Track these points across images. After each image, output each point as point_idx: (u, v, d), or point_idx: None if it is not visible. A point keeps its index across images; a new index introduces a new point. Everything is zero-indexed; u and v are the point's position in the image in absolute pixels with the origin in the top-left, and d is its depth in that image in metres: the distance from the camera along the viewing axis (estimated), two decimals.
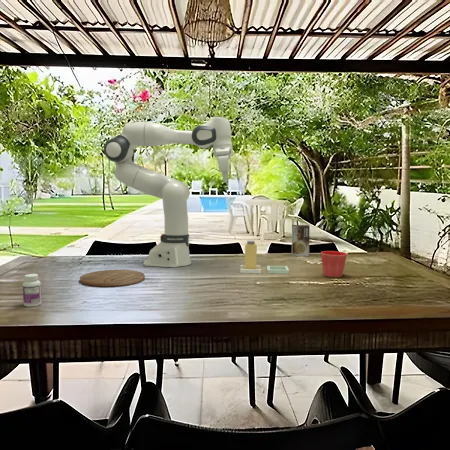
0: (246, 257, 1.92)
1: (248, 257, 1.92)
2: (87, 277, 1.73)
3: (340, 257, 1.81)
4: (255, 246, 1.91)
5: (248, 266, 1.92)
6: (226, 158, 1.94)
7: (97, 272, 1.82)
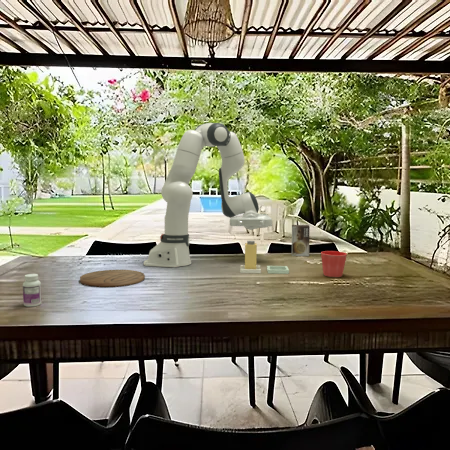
0: (246, 257, 1.92)
1: (248, 257, 1.92)
2: (87, 277, 1.73)
3: (340, 258, 1.81)
4: (255, 246, 1.91)
5: (248, 266, 1.92)
6: None
7: (97, 272, 1.82)
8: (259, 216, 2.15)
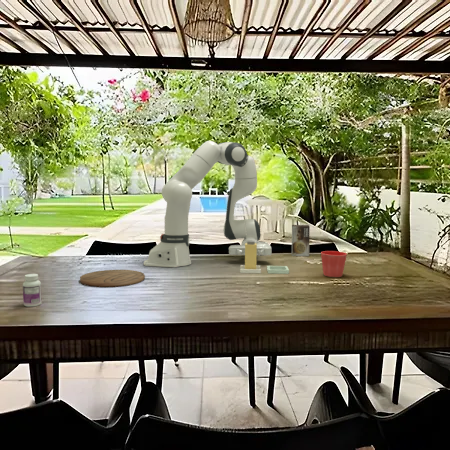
0: (246, 257, 1.92)
1: (248, 257, 1.92)
2: (87, 277, 1.73)
3: (340, 257, 1.81)
4: (255, 246, 1.91)
5: (248, 266, 1.92)
6: None
7: (97, 272, 1.82)
8: (258, 244, 2.14)
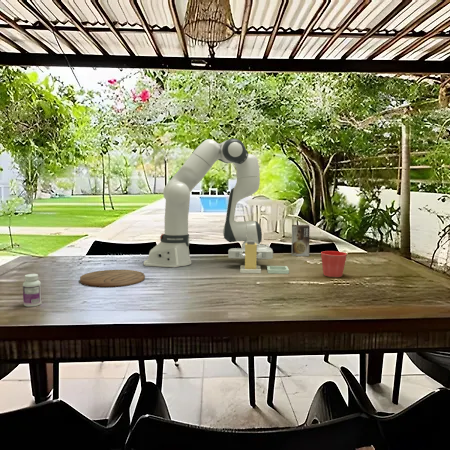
0: (246, 257, 1.92)
1: (248, 257, 1.92)
2: (87, 277, 1.73)
3: (340, 257, 1.81)
4: (255, 246, 1.91)
5: (248, 266, 1.92)
6: None
7: (97, 272, 1.82)
8: (259, 247, 2.04)
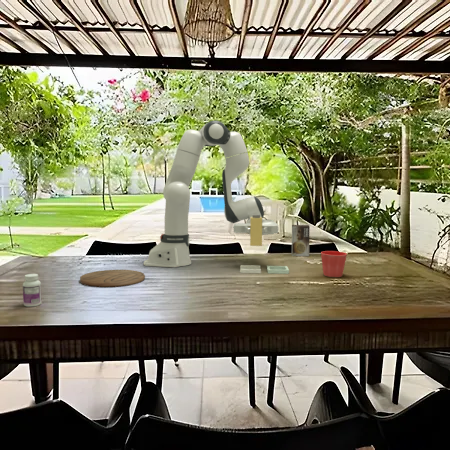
0: (252, 231, 1.91)
1: (254, 231, 1.91)
2: (87, 277, 1.73)
3: (340, 257, 1.81)
4: (261, 219, 1.90)
5: (253, 240, 1.91)
6: None
7: (97, 272, 1.82)
8: (264, 222, 2.02)
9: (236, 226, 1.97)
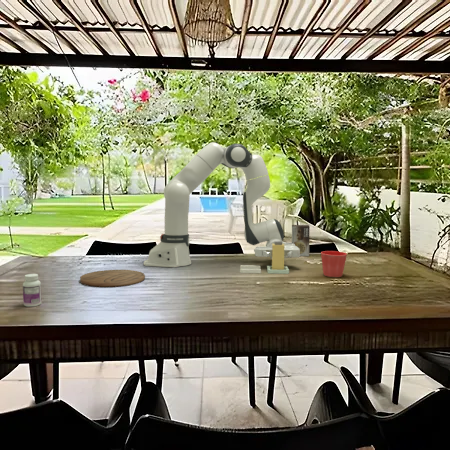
0: (274, 257, 1.91)
1: (276, 258, 1.91)
2: (87, 277, 1.73)
3: (340, 257, 1.81)
4: (283, 246, 1.91)
5: (275, 267, 1.92)
6: None
7: (97, 272, 1.82)
8: (285, 246, 2.03)
9: (257, 250, 1.98)
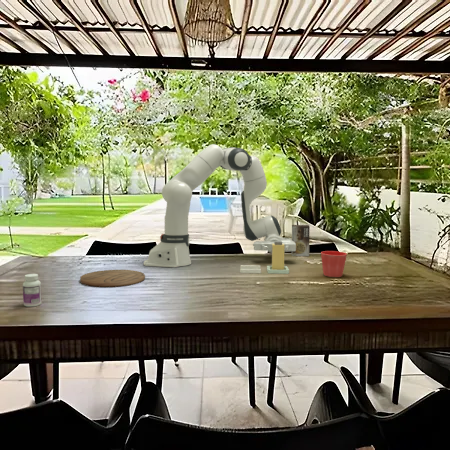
0: (274, 257, 1.91)
1: (276, 258, 1.91)
2: (87, 277, 1.73)
3: (340, 257, 1.81)
4: (283, 246, 1.91)
5: (275, 267, 1.92)
6: None
7: (97, 272, 1.82)
8: (282, 240, 2.16)
9: (256, 244, 2.11)
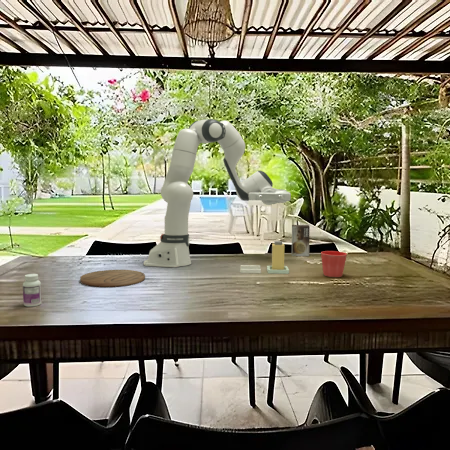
0: (274, 257, 1.91)
1: (276, 258, 1.91)
2: (87, 277, 1.73)
3: (340, 257, 1.81)
4: (283, 246, 1.91)
5: (275, 267, 1.92)
6: None
7: (97, 272, 1.82)
8: (277, 191, 2.17)
9: (251, 194, 2.12)
